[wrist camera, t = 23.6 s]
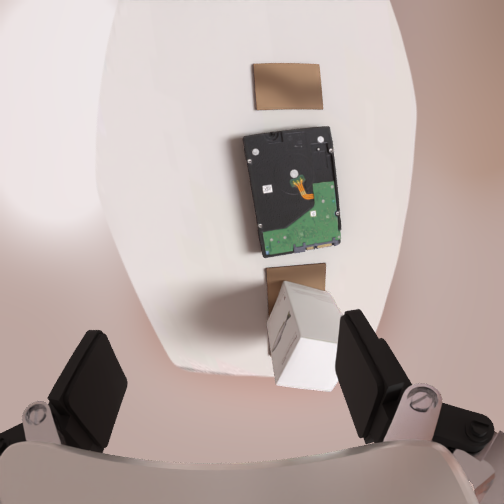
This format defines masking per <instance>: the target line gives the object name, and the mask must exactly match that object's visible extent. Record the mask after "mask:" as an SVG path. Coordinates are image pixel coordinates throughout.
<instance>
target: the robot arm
mask: <svg viewBox="0 0 504 504" xmlns="http://www.w3.org/2000/svg"><path fill="white" fill-rule="evenodd" d="M335 372H336V375H337V378H338V381H339V383H340V386H341V389H342V392H343V394H344V397H345V400H346V402H347V405H348V408H349V411H350V414H351V417H352V419H353V422H354V425H355V428H356V431H357V434H358V436H359V438H364V440H365V443H366V444H368V443H372V442H374V443H373V444H368V445H364V446H359V447H353V448H349V449H344V450H339V451H334V452H329V453H324V454H318V455H311V456H305V457H298V458H290V459H282V460H273V461H262V462H248V463H217V464H208V463H207V464H206V463H177V462H163V461H152V460H143V459H135V458H128V457H121V456H115V455H109V454H104V453H103V450H104V448H106V447H107V445H108V442H109V439H110V436H111V433H112V430H113V427H114V424H115V421H116V418H117V415H118V412H119V409H120V406H121V403H122V400H123V397H124V394H125V391H126V388H127V379H126V377H125V375H124V373H123V371H122V369H121V366H120V364H119V362H118V360H117V358H116V356H115V354H114V351H113V349H112V347H111V345H110V342H109V340H108V338H107V336H106V334H103V332H102V331H100V330H89V331H87V332H86V334H85V335H84V337H83V339H82V340H81V342H80V343H79V345H78V346H77V348H76V350H75V351H74V353H73V355H72V356H71V358H70V359H69V361H68V363H67V365H66V366H65V368H64V370H63V371H62V373H61V375H60V376H59V378H58V380H57V382H56V383H55V385H54V387H53V389H52V391H51V393H50V394H49V396H48V400H49V401H50V402H49V404H47V403H46V402H43V401H37V402H34V403H32V404H30V405H29V406H28V407H27V408H26V409H25V410H24V412H23V415H22V421H23V423H21V424H19V425H17V426H15V427H13V428H11V429H9V430H6V431H5V432H2V433H0V504H504V433H503V432H502V431H499V432H498V433H497V432H495V431H494V426H493V423H492V421H491V420H490V419H489V418H488V417H487V416H485V415H483V414H479V413H476V412H472V411H469V410H465V409H462V408H458V407H455V406H451V405H448V404H445V403H442V397H441V394H440V393H439V391H438V390H437V389H436V388H435V387H433V386H431V385H429V384H424V383H420V384H419V383H418V384H414V385H412V384H411V382H410V380H409V379H408V377H407V375H406V374H405V372H404V370H403V369H402V367H401V365H400V364H399V362H398V360H397V359H396V357H395V355H394V354H393V352H392V350H391V349H390V347H389V346H388V344H387V343H386V341H385V340H384V339H382V338H380V339H379V338H378V337H377V335H376V333H375V332H374V330H373V329H372V327H371V325H370V324H369V322H368V321H367V319H366V318H365V316H364V314H363V313H362V311H361V310H360V309H357V310H351V311H346V312H345V314H344V315H343V316H341V317H340V324H339V334H338V344H337V352H336V360H335ZM469 481H470V482H471V483H472V484H473V486H474V489H475V490H474V491H473V489H472V487H471V484H470V482H469Z"/></svg>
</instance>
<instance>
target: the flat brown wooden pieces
mask: <svg viewBox="0 0 504 504" xmlns="http://www.w3.org/2000/svg"><path fill="white" fill-rule="evenodd" d="M253 66H254V79H255V93H256V107H257V110H275V109H323V100H322V88H321V77H320V67H319V64H299V63H263V64H253ZM266 271H267V291H268V313H269V317H270V314H271V312H272V310H273V307H274V305H275V303H276V300H277V298H278V295H279V292H280V289H281V287H282V284H283V281H288V282H292V283H296V284H300V285H304V286H308V287H311V288H315V289H319V290H323V291H325V276H326V263H318V264H307V265H295V266H284V267H272V268H266ZM270 356H271V350H270Z"/></svg>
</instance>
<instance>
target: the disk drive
mask: <svg viewBox="0 0 504 504" xmlns="http://www.w3.org/2000/svg"><path fill="white" fill-rule="evenodd" d="M243 142H244V147H245V148H244V151H245V157H246V160H247V165H248V171H249V177H250V182H251V188H252V194H253V200H254V206H255V212H256V219H257V225H258V234H259V239H260V243H261V250H262V255H263V257H264V258H268V257H274V256H280V255H286V254H292V253H300V252H305V250H312V249H315V248H316V249H318V248H323V247H329V246H332V245H334V246H336V245H339V243H340V239H341V233H340V230H341V219H340V208H339V195H338V187H337V186H338V185H337V178H336V168H335V159H334V152H333V141H332V137H331V132H330V127H329V126H326V127H325V126H323V127H313V128H304V129H294V130H286V131H278V132H272V133H263V134H256V135H250V136H245V137H243Z"/></svg>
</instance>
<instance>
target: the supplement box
mask: <svg viewBox="0 0 504 504" xmlns="http://www.w3.org/2000/svg"><path fill="white" fill-rule="evenodd" d="M341 316H343V314H342V313H341V311H340V309H339V307H338V306H337V304H336V302H335V300H334V299H333V297H332V295H331V293H330V292H327V291H323V290H319V289H315V288H311V287H308V286H304V285H300V284H296V283H292V282H288V281H283V284H282V287H281V289H280V292H279V295H278V298H277V300H276V303H275V305H274V307H273V310H272V312H271V314H270V317H269V319H268V321H267V329H268V337H269V343H270V350H271V357H272V363H273V370H274V376H275V383H276V385H279V386H286V387H293V388H301V389H310V390H319V391H328V392H330V391H332V389H333V388H334V387H335V385H336V383H337V382H338V378H337V375H336V372H335V360H336V352H337V344H338V334H339V324H340V317H341Z"/></svg>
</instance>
